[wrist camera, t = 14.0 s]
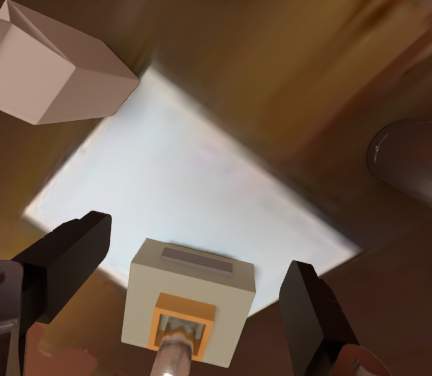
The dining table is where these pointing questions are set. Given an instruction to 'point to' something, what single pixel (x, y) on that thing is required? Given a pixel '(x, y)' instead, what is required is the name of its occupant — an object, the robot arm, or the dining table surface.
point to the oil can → (175, 348)
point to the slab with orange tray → (188, 298)
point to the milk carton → (56, 70)
